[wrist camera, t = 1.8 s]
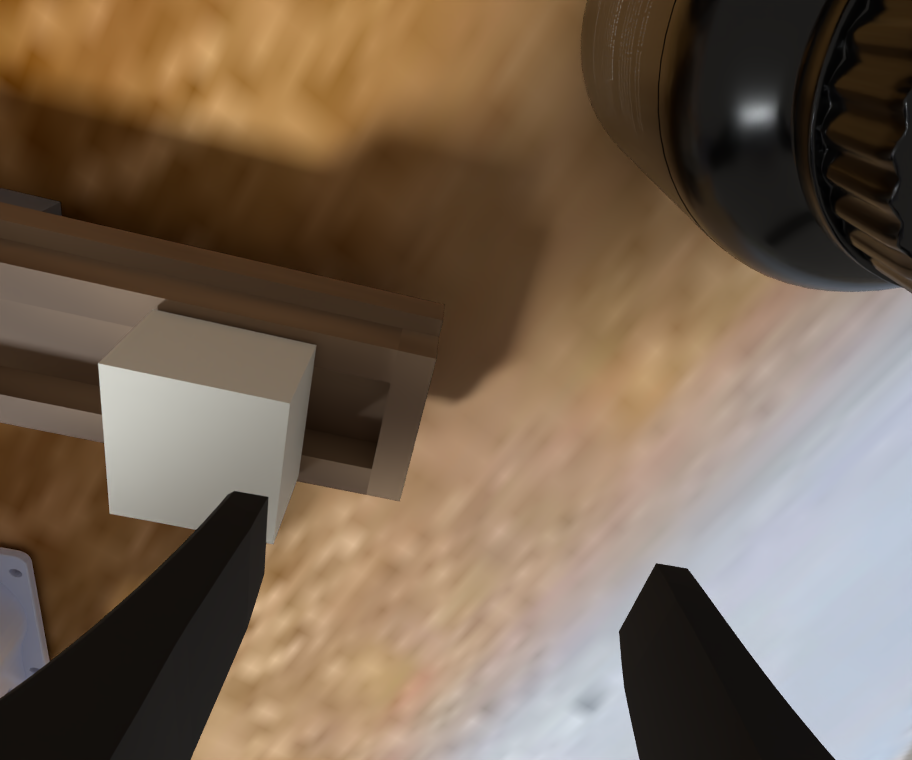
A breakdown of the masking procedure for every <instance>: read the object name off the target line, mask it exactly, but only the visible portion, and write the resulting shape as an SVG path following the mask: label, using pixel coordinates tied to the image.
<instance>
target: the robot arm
mask: <svg viewBox="0 0 912 760" xmlns="http://www.w3.org/2000/svg"><path fill="white" fill-rule="evenodd" d="M267 515H268V497H267V496H261V495H255V494H249V493H244V492H238V491H233V492H231V493H229V494H228V495H227V496H226V497H225V498H224V499H223V501H222V502H221V503H220V504H219V505H218V506H217V507H216V509H215V510H214V511H213V512H212V513H211V514H210V515H209V516H208V518H207V519H206V520H205V521H204V522H203V523H202V524H201V525H200V526H199V527H198V528H197V529H196V530H195V532H194V533H193V534H192V535H191V536H190V537H189V538H188V539H187V540H186V541H185V542H184V543H183V544H182V545H181V546H180V547H179V548H178V549H177V550H176V551H175V552H174V553H173V554H172V555H171V556H170V557H169V558H168V559H167V560H166V561H165V562H164V563H163V564H162V565H161V566H160V567H159V568H158V569H157V570H155V571H154V572H153V573H152V574H151V575H150V576H149V577H148V578H147V579H146V580H145V581H144V582H143V583H142V584H141V585H140V586H139V587H138V588H137V589H135V590H134V591H133V592H132V593H131V594H130V595H129V596H128V597H126V598H125V599H124V600H123V601H122V602H121V603H120V604H118V605H117V606H116V607H115V608H114V609H113V610H112V611H111V612H109V613H108V614H107V615H106V616H105V617H104V618H103V619H101V620H100V621H99V622H98V623H97V624H96V625H95V626H93V627H92V628H91V629H90V630H89V631H87V632H86V633H85V634H84V635H82V636H81V637H80V638H79V639H78V640H76V641H75V642H74V643H73V644H71V645H70V646H69V647H68V648H66V649H65V650H64V651H63V652H61V653H60V654H59V655H58V656H56V657H55V658H54V659H52V660H51V661H49V655H48V649H47V644H46V638H45V633H44V627H43V621H42V616H41V610H40V604H39V599H38V593H37V588H36V582H35V576H34V571H33V565H32V560H31V558H30V556H29V555H28V554H26V553H24V552H22V551H19V550H14V549H8V548H3V547H0V760H191V757H192V755H193V752H194V750H195V748H196V746H197V743H198V741H199V739H200V736H201V734H202V732H203V729H204V727H205V725H206V723H207V720H208V718H209V716H210V713H211V711H212V709H213V706H214V704H215V702H216V700H217V697H218V695H219V693H220V690H221V688H222V686H223V683H224V681H225V679H226V677H227V674H228V672H229V670H230V667H231V665H232V663H233V660H234V658H235V656H236V653H237V651H238V649H239V646H240V644H241V642H242V639H243V637H244V635H245V632H246V630H247V627H248V624H249V621H250V618H251V615H252V612H253V609H254V605H255V602H256V599H257V596H258V592H259V589H260V586H261V583H262V579H263V576H264V569H265V551H266V533H267ZM619 636H620V649H621V662H622V671H623V680H624V688H625V693H626V698H627V703H628V708H629V713H630V718H631V722H632V727H633V732H634V736H635V741H636V746H637V750H638V755H639V759H640V760H835V759H834V758H833V756H832V755H831V754H830V753H829V752H828V751H827V750H826V748H825V747H824V746H823V745H822V744H821V743H820V741H819V740H818V739H817V738H816V737H815V735H814V734H813V733H812V732H811V731H810V729H809V728H808V727H807V726H806V725H805V723H804V722H803V721H802V720H801V719H800V717H799V716H798V715H797V714H796V712H795V711H794V710H793V709H792V708H791V706H790V705H789V704H788V703H787V701H786V700H785V699H784V698H783V696H782V695H781V694H780V693H779V691H778V690H777V689H776V687H775V686H774V685H773V684H772V682H771V681H770V680H769V678H768V677H767V676H766V675H765V673H764V672H763V671H762V669H761V668H760V667H759V665H758V664H757V663H756V661H755V660H754V659H753V657H752V656H751V655H750V653H749V652H748V651H747V649H746V648H745V647H744V645H743V644H742V643H741V641H740V640H739V638H738V637H737V636H736V634H735V633H734V632H733V630H732V629H731V627H730V626H729V625H728V623H727V622H726V621H725V619H724V618H723V616H722V615H721V614H720V612H719V611H718V610H717V608H716V607H715V605H714V604H713V603H712V601H711V600H710V598H709V597H708V596H707V594H706V593H705V592H704V590H703V589H702V587H701V586H700V585H699V583H698V582H697V581H696V579H695V578H694V577H693V575H692V574H691V573H690V571H689V570H688V569H686V568H681V567H675V566H669V565H663V564H657V563H656V565H655V566H654V568H653V570H652V572H651V574H650V576H649V577H648V579H647V581H646V583H645V585H644V587H643V588H642V590H641V592H640V594H639V596H638V598H637V599H636V601H635V603H634V605H633V607H632V609H631V610H630V612H629V614H628V616H627V618H626V620H625V621H624V623H623V625H622V627H621V629H620V631H619Z"/></svg>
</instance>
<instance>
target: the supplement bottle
mask: <svg viewBox="0 0 912 760" xmlns="http://www.w3.org/2000/svg"><path fill="white" fill-rule="evenodd" d="M581 62H582V70H583V77H584V82H585V86H586V90H587V93H588V96H589V99H590V102H591V105H592V107H593V109H594V111H595V113H596V116H597V118H598V119H599V121H600V123H601V124H602V126H603V128H604V129H605V131H606V132H607V133H608V135H609V136H610V137H611V139H612V140H613V141H614V142H615V143H616V144H617V146H618V147H619V148H620V149H621V150H622V151H623V152H624V153H625V154H626V155H627V156H628V157H629V158H630V159H631V160H632V161H633V162H634V163H635V164H636V165H637V166H638V167H639V168H640V169H641V170H642V171H643V172H644V173H645V174H646V175H647V176H648V177H649V178H650V179H651V180H652V181H653V182H654V183H655V184H656V185H657V186H658V187H659V188H660V189H661V190H662V191H663V192H664V193H665V194H666V195H667V196H668V197H669V198H670V199H671V200H672V201H673V202H674V203H675V204H676V205H677V206H678V207H679V208H680V209H681V210H682V211H683V212H684V213H685V214H686V215H687V216H688V217H689V218H690V219H691V220H692V221H693V222H694V223H695V224H696V225H697V226H698V227H699V228H700V229H701V230H702V231H703V232H704V233H705V234H706V235H707V236H708V237H709V238H711V239H712V240H713V241H714V242H715V243H716V244H718V245H719V246H720V247H721V248H722V249H724V250H725V251H726V252H728V253H729V254H730V255H732V256H733V257H734V258H736V259H737V260H739V261H740V262H742V263H744V264H745V265H747V266H748V267H750V268H751V269H754V270H756V271H758V272H760V273H762V274H764V275H766V276H768V277H771V278H774V279H776V280H779V281H782V282H785V283H788V284H792V285H796V286H800V287H804V288H809V289H817V290H824V291H839V292H861V291H879V290H886V289H894V288H900V287H902V288H905V289H906V290H908V291H909V292H911V293H912V0H587V3H586V8H585V13H584V18H583V25H582V33H581Z"/></svg>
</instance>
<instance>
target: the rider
mask: <svg viewBox="0 0 912 760" xmlns="http://www.w3.org/2000/svg"><path fill="white" fill-rule="evenodd" d="M315 352H316V345H314V344H309V343H304V342H300V341H295V340H291V339H286V338H282V337H277V336H273V335H268V334H264V333H259V332H254V331H250V330H245V329H241V328H236V327H232V326H227V325H223V324H218V323H213V322H209V321H204V320H200V319H195V318H191V317H186V316H182V315H177V314H172V313H168V312H163V311H159V310H154V309H153V310H152V311H151V312H150V313H149V314H148V315H147V316H146V317H145V318H144V319H143V320H142V321H141V322H140V323H139V324H138V325H137V326H135V327H134V328H133V329H132V330H131V331H130V332H129V333H128V334H127V335H126V336H125V337H124V338H123V339H122V340H121V341H120V342H119V343H118V344H117V345H116V346H115V347H114V348H113V349H112V350H111V351H110V352H109V353H108V354H107V355H106V356H105V357H104V358H103V359H102V360H101V361H100V362H99V363H98V369H99V382H100V395H101V408H102V421H103V434H104V447H105V460H106V473H107V486H108V498H109V511H110V514H114V515H120V516H125V517H130V518H136V519H141V520H147V521H152V522H157V523H163V524H168V525H173V526H179V527H184V528H189V529H195V530H196V529H197V528H198V527H199V526H200V525H201V524H202V523H203V522H204V521H205V520H206V519H207V518H208V516H209V515H210V514H211V513H212V512H213V511H214V510H215V509H216V507H217V506H218V505H219V504H220V503H221V502H222V501H223V499H224V498H225V497H226V496H227V495H228V494H229V493H231V492H233V491H238V492H244V493H249V494H255V495H261V496H267V497H268V515H267V533H266V543H270V544H274V541H275V538H276V536H277V533H278V530H279V527H280V525H281V522H282V519H283V517H284V514H285V511H286V508H287V506H288V503H289V500H290V498H291V495H292V492H293V489H294V487H295V484H296V481H297V479H298V476H299V469H300V461H301V454H302V447H303V439H304V432H305V425H306V418H307V410H308V403H309V396H310V389H311V381H312V374H313V367H314V359H315Z"/></svg>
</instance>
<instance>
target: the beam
mask: <svg viewBox="0 0 912 760" xmlns="http://www.w3.org/2000/svg"><path fill="white" fill-rule="evenodd" d="M444 307H445V304H440V303H436V302H432V301H427V300H423V299H419V298H414V297H410V296H406V295H401V294H397V293H393V292H388V291H384V290H380V289H375V288H371V287H367V286H362V285H358V284H354V283H349V282H345V281H341V280H336V279H332V278H328V277H323V276H319V275H315V274H310V273H306V272H302V271H297V270H293V269H289V268H284V267H280V266H276V265H271V264H267V263H263V262H258V261H254V260H250V259H245V258H241V257H237V256H232V255H228V254H224V253H219V252H215V251H211V250H206V249H202V248H198V247H193V246H189V245H185V244H180V243H176V242H172V241H167V240H163V239H159V238H154V237H150V236H146V235H141V234H137V233H133V232H128V231H124V230H120V229H115V228H111V227H107V226H102V225H98V224H94V223H89V222H85V221H81V220H76V219H72V218H68V217H63V216H62V213H61V203H60V202H59V201H54V200H50V199H46V198H41V197H37V196H33V195H29V194H24V193H20V192H16V191H11V190H7V189H3V188H0V423H5V424H10V425H15V426H20V427H26V428H31V429H36V430H41V431H46V432H51V433H56V434H61V435H66V436H71V437H76V438H81V439H86V440H91V441H96V442H101V443H104V434H103V421H102V408H101V395H100V382H99V369H98V363H99V362H100V361H101V360H102V359H103V358H104V357H105V356H106V355H107V354H108V353H109V352H110V351H111V350H112V349H113V348H114V347H115V346H116V345H117V344H118V343H119V342H120V341H121V340H122V339H123V338H124V337H125V336H126V335H127V334H128V333H129V332H130V331H131V330H132V329H133V328H134V327H135V326H137V325H138V324H139V323H140V322H141V321H142V320H143V319H144V318H145V317H146V316H147V315H148V314H149V313H150V312H151V311H152V310H153V309H154V310H159V311H163V312H168V313H172V314H177V315H182V316H186V317H191V318H195V319H200V320H204V321H209V322H213V323H218V324H223V325H227V326H232V327H236V328H241V329H245V330H250V331H254V332H259V333H264V334H268V335H273V336H277V337H282V338H286V339H291V340H295V341H300V342H304V343H309V344H314V345H316V352H315V359H314V367H313V374H312V381H311V389H310V396H309V403H308V410H307V418H306V425H305V432H304V439H303V447H302V454H301V461H300V469H299V476H298V479H297V481H299V482H304V483H309V484H314V485H319V486H324V487H329V488H335V489H340V490H345V491H350V492H355V493H360V494H365V495H370V496H375V497H380V498H385V499H390V500H395V501H400V498H401V495H402V491H403V487H404V483H405V479H406V475H407V471H408V467H409V464H410V460H411V456H412V452H413V448H414V444H415V440H416V437H417V433H418V429H419V425H420V421H421V417H422V413H423V409H424V406H425V402H426V398H427V394H428V390H429V386H430V382H431V378H432V375H433V371H434V367H435V363H436V359H437V350H438V341H439V335H440V331H441V327H442V323H443V317H444Z"/></svg>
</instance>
